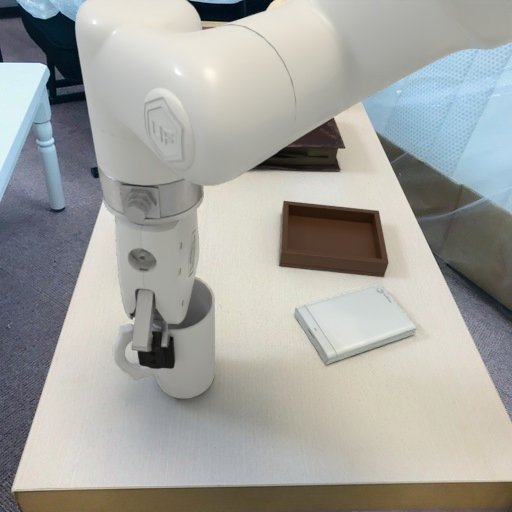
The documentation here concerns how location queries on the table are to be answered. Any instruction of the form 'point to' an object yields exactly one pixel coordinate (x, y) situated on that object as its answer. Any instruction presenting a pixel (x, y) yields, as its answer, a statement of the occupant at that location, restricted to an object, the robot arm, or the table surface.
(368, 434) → the table surface
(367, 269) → the shallow brown tray
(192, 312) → the mug
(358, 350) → the hard drive
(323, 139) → the diary
